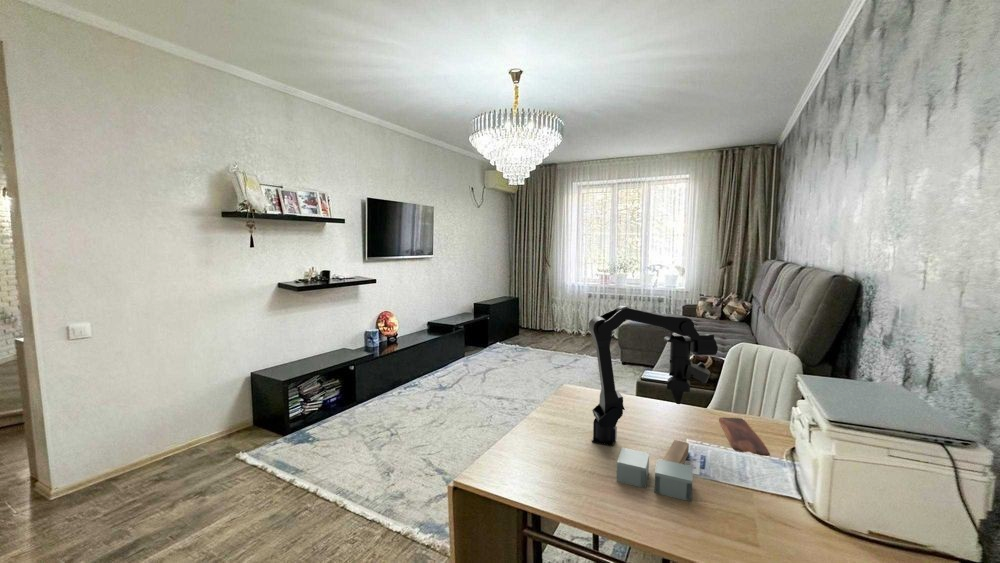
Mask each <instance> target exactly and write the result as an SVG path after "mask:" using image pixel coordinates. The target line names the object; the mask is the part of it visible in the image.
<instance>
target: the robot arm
mask: <svg viewBox="0 0 1000 563" xmlns="http://www.w3.org/2000/svg"><path fill="white" fill-rule="evenodd" d="M626 321H631V322H636V323H641V324H646V325H649V326H655V327H659V328H663V329H665V330H668V331H670V332H668V334H667V335H666V336H665V337H663V340H664V341H666V342H667V343H670V344H669V345H670V350H669V368H668V369H669V372H668V376H669V378H668V379H667V382H666V389H667V390H670V392H671V394H672V396H673V399H674V402H675V404H677V405H681V402H682V399H683V395H684V392H685V393H690V392H691V382H690V380H689V379H691V378H693V379H695V380H698V381H700V382H701V383H702V384H706V383H707V382H708V380H709V377H710V375H711V371H710V370H709V369H708V368H706V363H704V362H703V361H702V362H701V361H700V362H699V363H697V364H696V363H693V362H692V358H691V353H692V354H693V356H696V357H697V356H698V357H699V356H701V357H703V356H707V357H708V356H709V357H710V356H713V357H715V356H716V355H717V354H718V348H719V347H718V343H717V341H716V339H715V335H714V334H712V333H699V332H698V331H697V330H696V328H695V323H694V321H693V320H692V319H691V318H690V317H687V316H684V315H681V314H678V313H677V314H676V313H675V314H673V313H667V314H661V313H657V312H651V311H647V310H646V311H645V310H641V309H638V308H633V307H628V306H625V305H619V306H617V307H615V308H614V309H612V310H610V311H607V312H605V313H603V314H601V315H600V316H594V317H592V318H591V319H590V321H589V322H588V330H589V332H590V334H591V338H592V340H593V343H594V345H595V348H596V349H595V350H596V356H597V364H598V372H599V380H600V385H601V388H600V393H599V401H598V402H599V403H598V404H597V405H596V406H595V407H593V409H592V414H593V416H594V419H593V424H592V425H593V427H592V428H593V429H592V430H593V432H592V433H593V434H592V436H593V437H592V439H591V442H592V443H593V444H600V445H605V446H610V447H613V446H614V444H615V443H616V441H617V437H618V435H617V434H618V433H617V431H618V426H617V424H618V422H619V419H620V418H622V417H623V414H624V411H626V409H625V407H624V397H623V395H621V393H620V392H619V391H618V390H616V385H615V383H616V382H615V375H614V370H613V362H612V354H611V344H612V339H613V331H615V330H616V329H618V328H619V327H620V326H621V325H622V324H623V323H624V322H626ZM671 332H672V333H671ZM673 333H675V334H677V335H674V334H673ZM685 337H687V338H685Z"/></svg>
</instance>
